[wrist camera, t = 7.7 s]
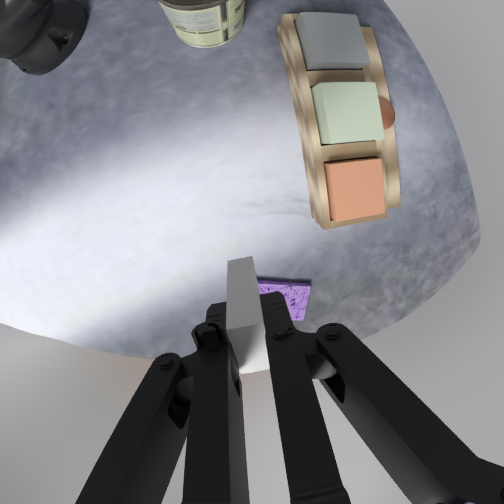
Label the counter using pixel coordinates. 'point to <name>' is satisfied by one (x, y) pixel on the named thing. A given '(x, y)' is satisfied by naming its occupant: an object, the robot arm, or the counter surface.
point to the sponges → (289, 295)
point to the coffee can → (205, 20)
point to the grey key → (331, 41)
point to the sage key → (347, 112)
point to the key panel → (319, 152)
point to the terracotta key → (354, 187)
